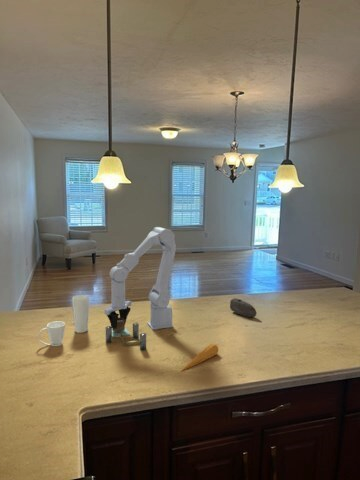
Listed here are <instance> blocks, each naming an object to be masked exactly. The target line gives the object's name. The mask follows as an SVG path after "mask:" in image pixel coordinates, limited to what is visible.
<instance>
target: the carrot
mask: <svg viewBox="0 0 360 480" xmlns="http://www.w3.org/2000/svg"><path fill="white" fill-rule="evenodd" d="M218 353H219V347H218V345H217V344H216V343H210V344H209V345H208V346H206V347H205V348H204V349H202V351H200V352H199V353H198V354H197V355H196V356H195V357H193V359H191V360H190V361H189V362H188V363H187V364H186V365H185V366H184V367H183V368H182V369H180V371H179V372H182V371H185V370H187V369H190V368H192V367H195V366H197V365H198V364H200V363H203V362H204V361H206V359H207V360H208V358H209V359H211V358H213V357H214V355H215V356H216V355H217V354H218ZM212 356H213V357H212ZM210 357H211V358H210Z"/></svg>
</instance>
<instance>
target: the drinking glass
mask: <svg viewBox="0 0 360 480" xmlns="http://www.w3.org/2000/svg"><path fill="white" fill-rule="evenodd" d="M71 305H72V312H73V323H74V332H75V333H78V334H81V333H82V334H83V333H87V332H88V330H89V327H88V326H89V315H90V313H89V312H90V297H89V295H87V294H77V295H74V296H73V297H72V304H71Z"/></svg>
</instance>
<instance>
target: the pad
mask: <svg viewBox="0 0 360 480" xmlns="http://www.w3.org/2000/svg"><path fill="white" fill-rule="evenodd" d="M120 335H123V337H126V336H131V333H130V331H129V330H128V329H127V327H126V326H125V330H124V331H122V332H115V331H113V329H112V339H113V338H120Z"/></svg>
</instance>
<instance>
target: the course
mask: <svg viewBox="0 0 360 480" xmlns="http://www.w3.org/2000/svg"><path fill="white" fill-rule="evenodd" d="M139 326H140V323H138V322H133V323H132V339H133V340H131V341H126V338H125V336H123V335H120V337H119V339H120V340H121V341H122V344H123V345H124V347H127V346H133V345H139V350H140V351H146V350H147V333H146V332H141V333H139ZM138 339H139V340H138ZM112 342H113V338H112V327H111V326H110V325H107V326H106V327H105V343H106V344H110V343H112Z"/></svg>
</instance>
